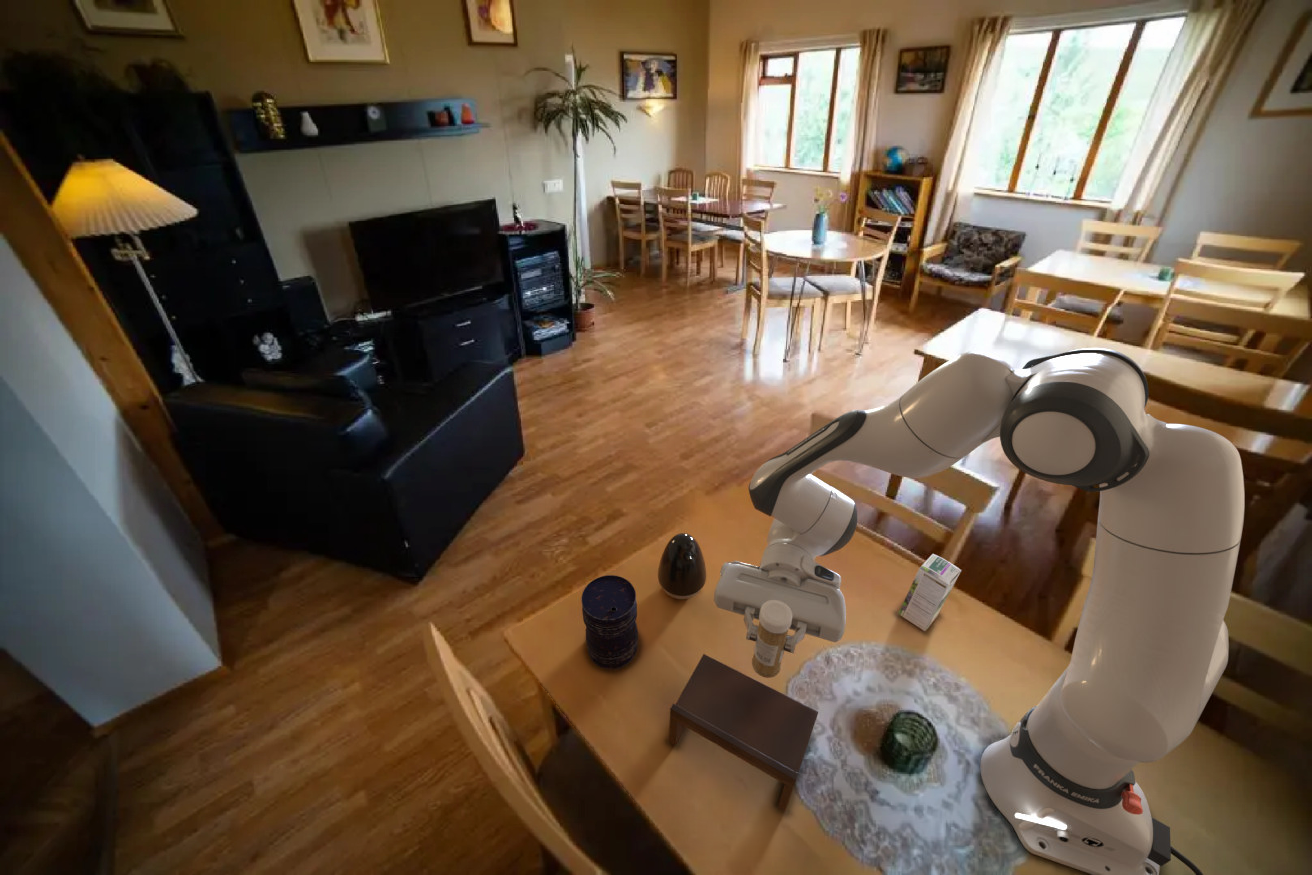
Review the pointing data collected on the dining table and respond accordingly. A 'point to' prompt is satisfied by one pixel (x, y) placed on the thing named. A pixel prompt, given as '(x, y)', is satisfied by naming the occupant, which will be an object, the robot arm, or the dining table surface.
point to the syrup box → (929, 591)
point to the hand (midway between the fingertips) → (770, 643)
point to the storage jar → (610, 621)
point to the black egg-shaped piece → (682, 567)
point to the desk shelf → (745, 720)
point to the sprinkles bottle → (771, 638)
